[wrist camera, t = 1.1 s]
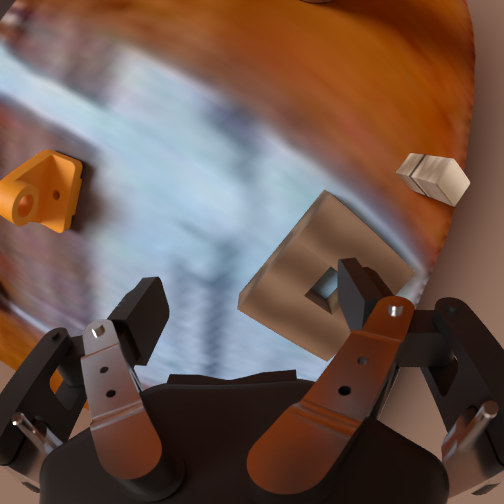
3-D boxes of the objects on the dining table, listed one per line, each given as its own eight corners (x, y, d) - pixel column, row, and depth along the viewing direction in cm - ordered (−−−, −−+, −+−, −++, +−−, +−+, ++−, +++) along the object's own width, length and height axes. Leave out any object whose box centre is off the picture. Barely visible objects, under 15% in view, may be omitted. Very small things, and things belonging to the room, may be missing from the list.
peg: (409, 152, 31) (453, 158, 22) (426, 171, 32) (470, 182, 22) (395, 172, 32) (436, 184, 23) (412, 190, 33) (454, 207, 24)
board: (324, 189, 33) (331, 195, 30) (402, 260, 36) (415, 272, 33) (239, 293, 39) (237, 309, 35) (322, 345, 42) (327, 361, 38)
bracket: (72, 229, 36) (22, 259, 25) (42, 213, 35) (-9, 237, 24) (87, 162, 33) (30, 173, 22) (53, 149, 32) (-3, 158, 21)
